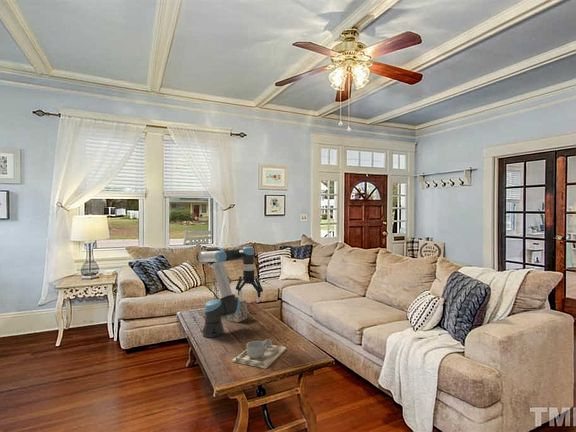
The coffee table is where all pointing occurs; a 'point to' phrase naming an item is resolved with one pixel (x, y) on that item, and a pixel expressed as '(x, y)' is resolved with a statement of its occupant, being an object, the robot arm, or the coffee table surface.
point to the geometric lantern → (217, 285)
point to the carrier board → (269, 356)
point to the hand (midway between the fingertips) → (249, 301)
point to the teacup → (256, 349)
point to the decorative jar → (239, 313)
